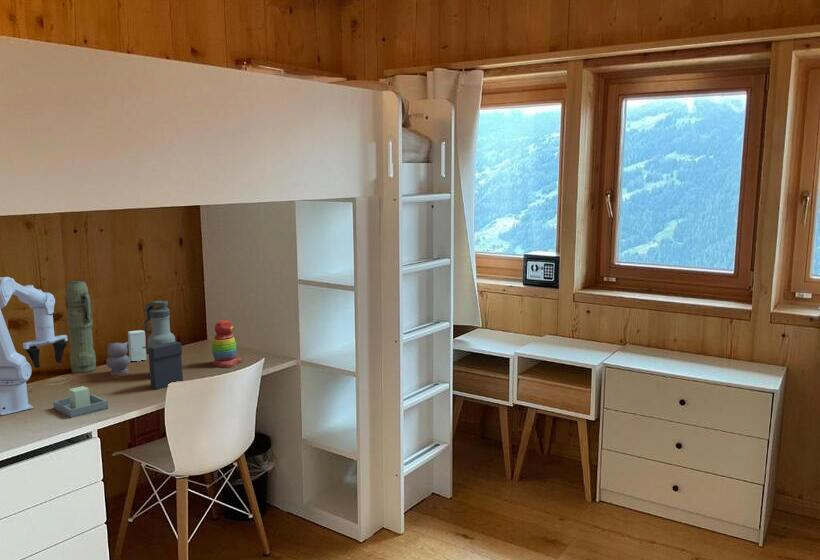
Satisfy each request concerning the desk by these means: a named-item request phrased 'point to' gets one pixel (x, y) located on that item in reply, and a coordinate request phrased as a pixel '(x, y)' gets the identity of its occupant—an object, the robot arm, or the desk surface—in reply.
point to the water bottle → (158, 324)
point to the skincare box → (137, 345)
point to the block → (79, 397)
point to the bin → (94, 406)
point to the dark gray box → (165, 364)
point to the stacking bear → (224, 345)
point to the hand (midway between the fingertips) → (47, 364)
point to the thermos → (80, 327)
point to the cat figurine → (117, 358)
